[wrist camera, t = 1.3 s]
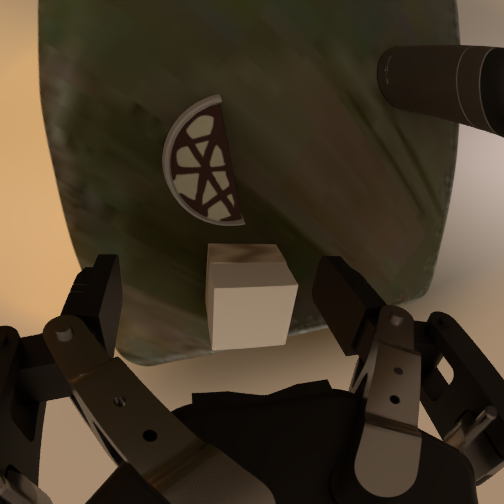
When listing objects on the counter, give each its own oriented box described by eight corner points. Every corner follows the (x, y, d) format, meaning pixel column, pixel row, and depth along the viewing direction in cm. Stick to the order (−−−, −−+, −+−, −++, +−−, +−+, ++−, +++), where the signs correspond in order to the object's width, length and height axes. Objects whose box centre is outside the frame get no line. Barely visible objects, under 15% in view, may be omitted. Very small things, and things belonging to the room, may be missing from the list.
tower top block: (284, 261, 38) (298, 285, 34) (274, 319, 42) (284, 344, 38) (209, 263, 36) (214, 288, 32) (207, 322, 40) (212, 350, 36)
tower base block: (275, 243, 42) (286, 262, 38) (265, 297, 46) (274, 319, 42) (208, 242, 40) (212, 262, 36) (204, 299, 44) (208, 322, 40)
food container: (155, 106, 31) (145, 111, 22) (210, 94, 31) (221, 94, 23) (180, 206, 37) (181, 245, 28) (230, 194, 37) (246, 229, 29)
